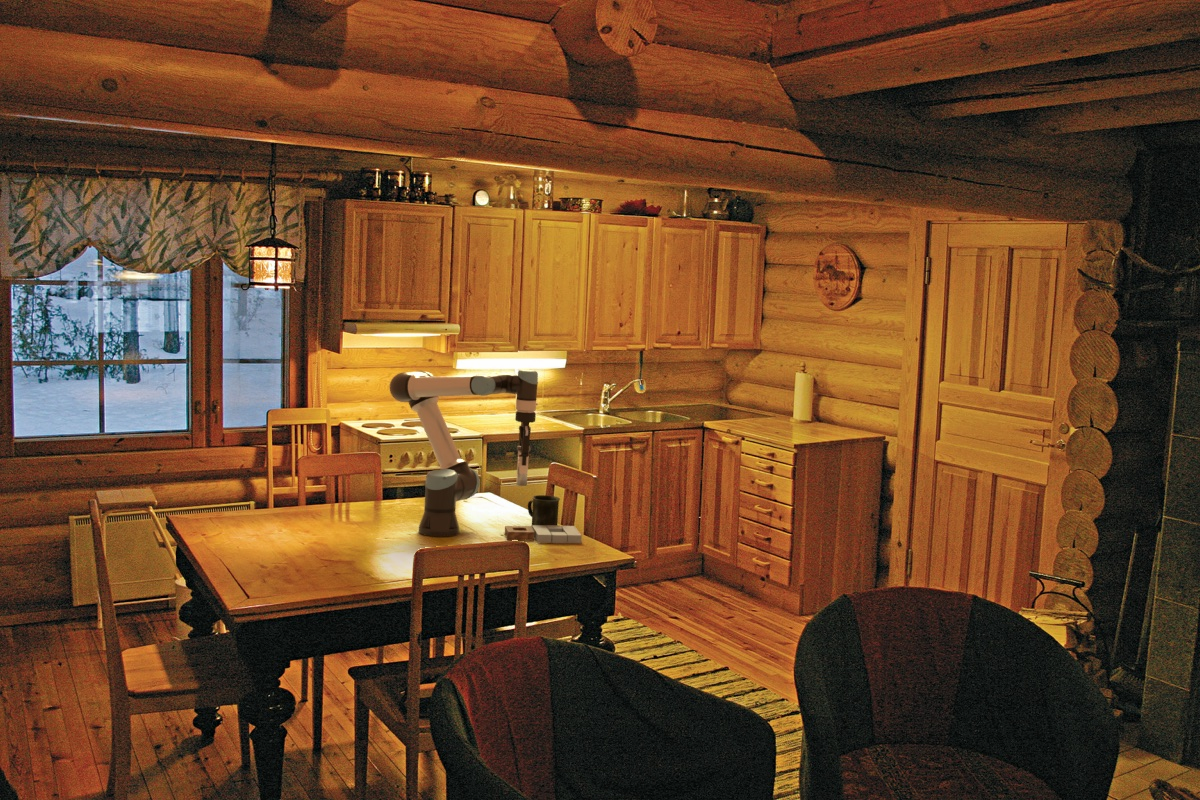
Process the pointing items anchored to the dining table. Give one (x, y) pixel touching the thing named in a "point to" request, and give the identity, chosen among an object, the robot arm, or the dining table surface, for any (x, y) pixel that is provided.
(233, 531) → the dining table surface
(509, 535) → the mount
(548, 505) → the mug
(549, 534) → the socket
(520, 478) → the pin
